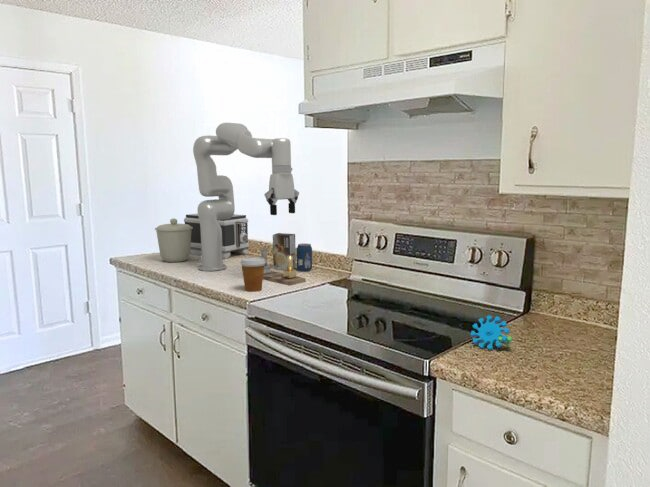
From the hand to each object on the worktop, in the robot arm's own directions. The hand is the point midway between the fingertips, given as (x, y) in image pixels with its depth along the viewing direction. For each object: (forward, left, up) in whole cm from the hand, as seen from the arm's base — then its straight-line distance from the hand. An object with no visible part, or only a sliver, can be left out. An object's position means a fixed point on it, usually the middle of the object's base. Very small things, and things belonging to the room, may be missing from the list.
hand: (282, 214), depth 203 cm
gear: (+93, -11, -29) cm, 98 cm away
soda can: (-12, +24, -28) cm, 39 cm away
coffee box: (-22, +21, -28) cm, 41 cm away
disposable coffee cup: (-1, -15, -28) cm, 32 cm away
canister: (-76, -3, -28) cm, 81 cm away
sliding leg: (-1, +3, -26) cm, 27 cm away
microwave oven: (-75, +23, -29) cm, 83 cm away
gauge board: (-8, +4, -28) cm, 29 cm away
